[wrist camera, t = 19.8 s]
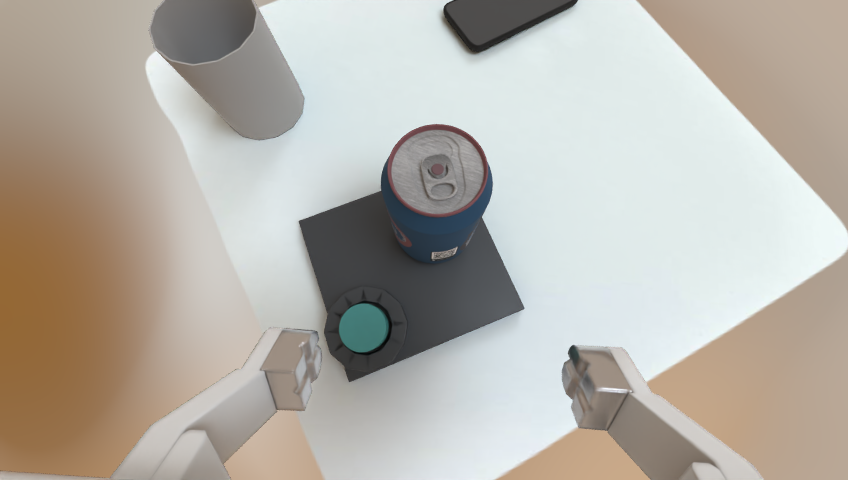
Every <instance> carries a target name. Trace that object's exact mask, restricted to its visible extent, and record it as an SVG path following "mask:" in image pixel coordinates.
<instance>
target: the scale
mask: <svg viewBox="0 0 848 480" xmlns="http://www.w3.org/2000/svg"><path fill="white" fill-rule="evenodd" d="M299 224H300V227H301V230H302V233H303V236H304V240H305V243H306V246H307V249H308V252H309V256H310V259H311V262H312V265H313V268H314V272H315V275H316V278H317V281H318V284H319V287H320V291H321V294H322V297H323V300H324V303H325V307H326V310H327V313H328V316H327V321H326V325H325V330H324V334H325V337H326V341H327V344H328V347H329V351H330V353H331V355H332V356H334V357H335V358H336V359H337V360H338V361H339V362H340V363H341V364H343V365H344V367H345V370H346V374H347V377H348V380H349V382H351V381H354V380H356V379H358V378H361V377H363V376H366V375H368V374H370V373H373V372H375V371H378V370H380V369H382V368H385V367H387V366H389V365H392V364H394V363H397V362H399V361H401V360H404V359H406V358H409V357H411V356H413V355H416V354H418V353H420V352H423V351H425V350H428V349H430V348H432V347H435V346H437V345H440V344H442V343H444V342H447V341H449V340H451V339H454V338H456V337H459V336H461V335H463V334H466V333H468V332H471V331H473V330H475V329H478V328H480V327H482V326H485V325H487V324H490V323H492V322H494V321H497V320H499V319H502V318H504V317H506V316H509V315H511V314H513V313H516V312H518V311H521V310H523V309H524V306H523V304H522V302H521V300H520V298H519V295H518V293H517V291H516V289H515V287H514V285H513V283H512V281H511V278H510V276H509V274H508V272H507V270H506V268H505V266H504V264H503V261H502V259H501V257H500V255H499V253H498V251H497V249H496V246H495V244H494V242H493V240H492V238H491V236H490V234H489V232H488V229H487V227H486V225H485V223H484V221H483V219H482V217H481V219H480V221H479V223H478V225H477V227H476V229H475V231H474V233H473V235H472V237H471V239H470V241H469V243H468V245H467V247H466V248H465V249H464V250H463V251H462V252H461V253H460V254H459V255H458V256H457V257H455V258H453V259H451V260H449V261H446V262H443V263H425V262H421V261H418V260H416V259H414V258H412V257H411V256H409V255H408V254H407V253H406V252H405V251H404V250H403V249H402V248H401V246H400V245H399V243H398V241H397V239H396V236H395V232H394V229H393V226H392V223H391V220H390V217H389V214H388V211H387V208H386V204H385V201H384V198H383V195H382V191H379V192H377V193H374V194H371V195H369V196H366V197H363V198H360V199H358V200H355V201H352V202H349V203H347V204H344V205H341V206H339V207H336V208H333V209H330V210H328V211H325V212H322V213H319V214H317V215H314V216H311V217H309V218H306V219H303V220H300V221H299ZM363 303H365V304H371V305H373V306H376V307H378V308H379V309H381V310H382V311H383V312H384V314H385V315H386V317H387V319H388V324H389V329H388V334H387V337H386V339H385V340H384V342H383V343H382V344H381V345H380V346H379V347H377V348H375V349H373V350H371V351H368V352H355V351H353V350H351V349H349V348H348V347H347V346H346V345H345V344H344V343H343V342H342V340H341V337H340V334H339V325H340V321H341V318H342V316H343V315H344V313H345V312H346V311H347V310H348V309H349V308H351V307H352V306H354V305H357V304H363Z"/></svg>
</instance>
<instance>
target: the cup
mask: <svg viewBox="0 0 848 480" xmlns="http://www.w3.org/2000/svg"><path fill="white" fill-rule="evenodd" d="M149 33H150V36H151V40H152V43H153V47H154V48H155V50H156V51H157V52H158V53H159V54H160V55H161V56H162V57H163V58H164V59H165V60H166V61H167V62H168V63H169V64H170V65H171V66H172V67H173V68H174V69H175V70H176V71H177V72H178V73H179V74H180V75H181V76H182V77H183V78H184V79H185V80H186V81H187V82H188V83H189V84H190V85H191V86H192V87H193V88H194V89H195V90H196V91H197V93H198V94H199V95H200V96H201V97H202V98H203V99H204V100H205V101H206V102H207V103H208V104H209V105H210V106H211V107H212V108H213V109H214V110H215V111H216V112H217V113H218V114H219V115H220V116H221V117H222V118H223V119H224V120H225V121H226V122H227V123H228V124H229V125H230V126H231V127H232V128H233V129H234V130H236V131H237V132H238V133H239V134H240V135H242V136H243V137H248V138H252V139H257V140H263V139H268V138H274V137H278V136H280V135H281V134H283V133H284V132H286V131H287V130H289V129H291V128H292V127H293V126H294V125H295V123H296V122H297V120H298V119H299V118H300V116H301V115H302V113H303V105H304V96H303V94H302V91H301V89H300V87H299V84H298V82H297V81H296V79H295V77H294V75H293V73H292V71H291V69H290V67H289V65H288V64H287V62H286V60H285V58H284V56H283V54H282V52H281V50H280V48H279V46H278V45H277V43H276V41H275V39H274V37H273V35H272V33H271V31H270V29H269V28H268V26H267V24H266V22H265V20H264V18H263V16H262V14H261V12H260V10H259V9H258V7H257V5H256V3H255V1H254V0H164V1H163V2H162V3H161V4H160V5H159V6H158V7H157V8H156V9H155V10H154V13H153V16H152V20H151V23H150V26H149Z"/></svg>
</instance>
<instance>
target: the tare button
mask: <svg viewBox="0 0 848 480" xmlns="http://www.w3.org/2000/svg"><path fill="white" fill-rule="evenodd" d="M388 329H389V324H388V319H387V317H386V315H385V314H384V312H383V311H382V310H381V309H379V308H378V307H376V306H373V305H371V304H365V303H363V304H357V305H354V306H352V307H351V308H349V309H348V310H347V311H346V312H345V313H344V315H343V316H342V318H341V321H340V325H339V334H340V337H341V340H342V342H343V343H344V344H345V345H346V346H347V347H348V348H349V349H351V350H353V351H355V352H368V351H371V350H373V349H375V348H377V347H379V346H380V345H381V344H382V343H383V342H384V340H385V339H386V337H387V334H388Z"/></svg>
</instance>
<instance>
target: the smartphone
mask: <svg viewBox="0 0 848 480" xmlns="http://www.w3.org/2000/svg"><path fill="white" fill-rule="evenodd" d="M577 1H578V0H453V1H451V2H449V3H447V4H446V5H445V6H444V15H445V17H446V18H447V20H448V21H449V22H450V24H451V25H452V26H453V28H454V29H455V30H456V31H457V33H458V34H459V35H460V37H461V38H462V39H463V40H464V42H465V43H466V44H467V46H468V47H469V48H470V49H471V50H473V51H481V50H483V49H486V48H488V47H491V46H493V45H494V44H496V43H499V42H501V41H503V40H505V39H506V38H509V37H511V36H513V35H515V34H516V33H518V32H520V31H522V30H524V29H526V28H528V27H530V26H532V25H534V24H537V23H539V22H541V21H543V20H545V19H547V18H549V17H551V16H553V15H555V14H557V13H559V12H561V11H563V10H565V9H567V8H569V7H571V6H573V5H574V4H576V2H577Z"/></svg>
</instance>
